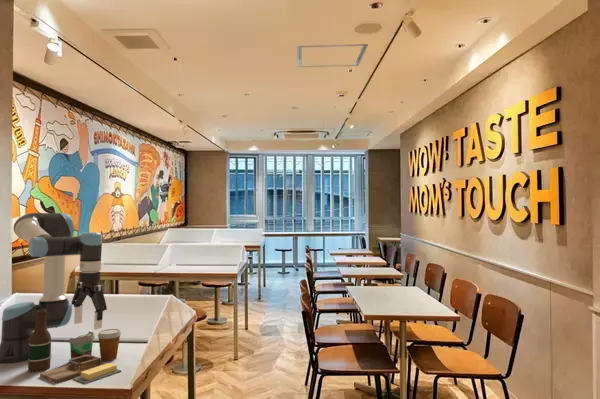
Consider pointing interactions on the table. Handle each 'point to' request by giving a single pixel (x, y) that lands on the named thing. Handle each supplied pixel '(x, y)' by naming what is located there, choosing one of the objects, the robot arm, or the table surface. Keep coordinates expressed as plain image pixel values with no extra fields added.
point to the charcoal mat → (95, 377)
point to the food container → (81, 345)
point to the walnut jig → (72, 368)
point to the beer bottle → (39, 345)
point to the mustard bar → (98, 371)
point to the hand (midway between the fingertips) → (87, 325)
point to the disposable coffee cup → (109, 343)
